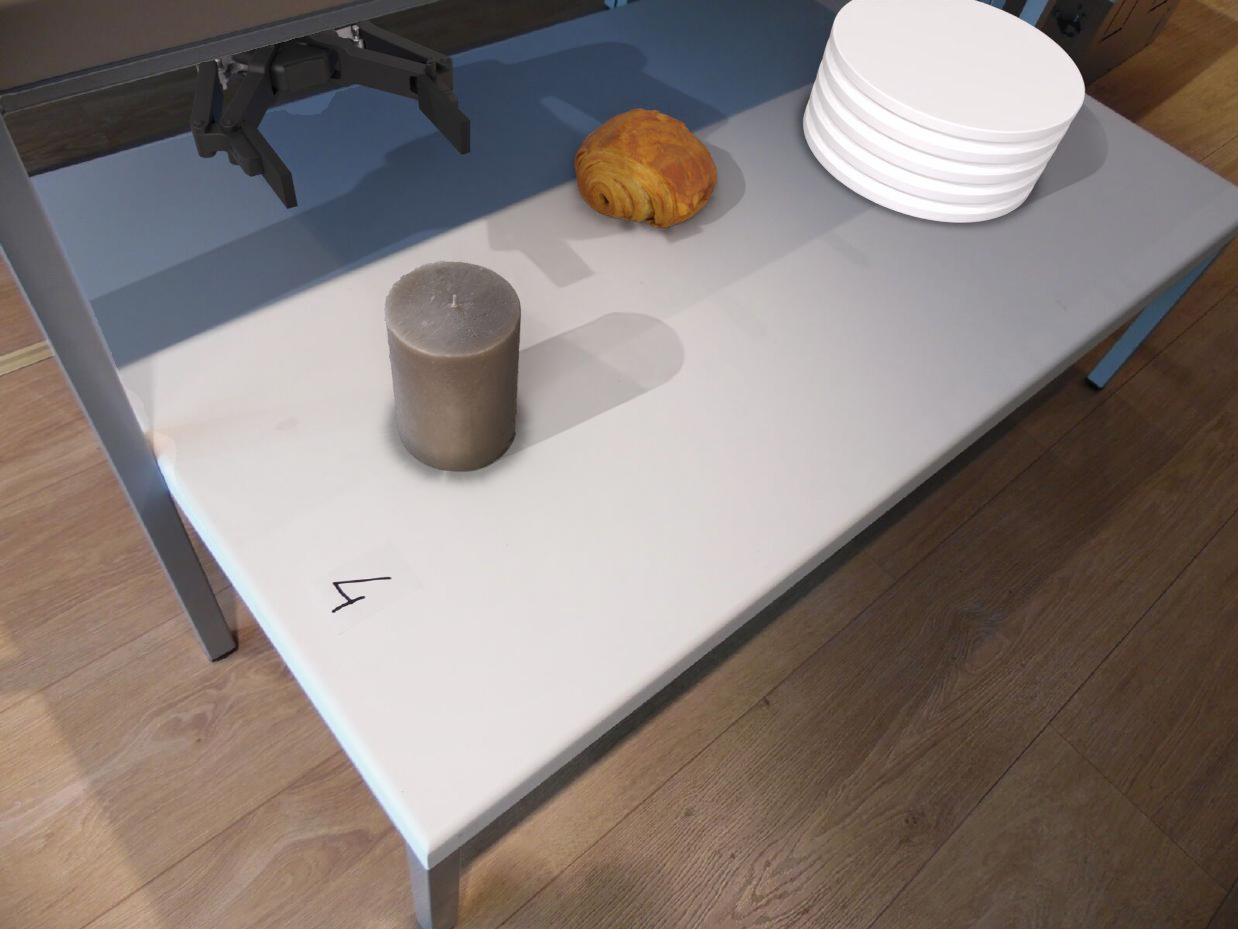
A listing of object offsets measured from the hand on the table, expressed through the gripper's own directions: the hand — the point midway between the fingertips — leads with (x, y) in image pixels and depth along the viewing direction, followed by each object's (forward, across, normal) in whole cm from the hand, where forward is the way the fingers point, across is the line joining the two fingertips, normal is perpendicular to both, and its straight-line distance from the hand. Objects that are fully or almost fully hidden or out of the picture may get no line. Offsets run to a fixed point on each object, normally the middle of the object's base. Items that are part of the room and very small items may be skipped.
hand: (381, 163), depth 64 cm
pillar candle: (+10, 0, -19) cm, 22 cm away
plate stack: (0, -68, -20) cm, 71 cm away
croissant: (-8, -33, -19) cm, 39 cm away
